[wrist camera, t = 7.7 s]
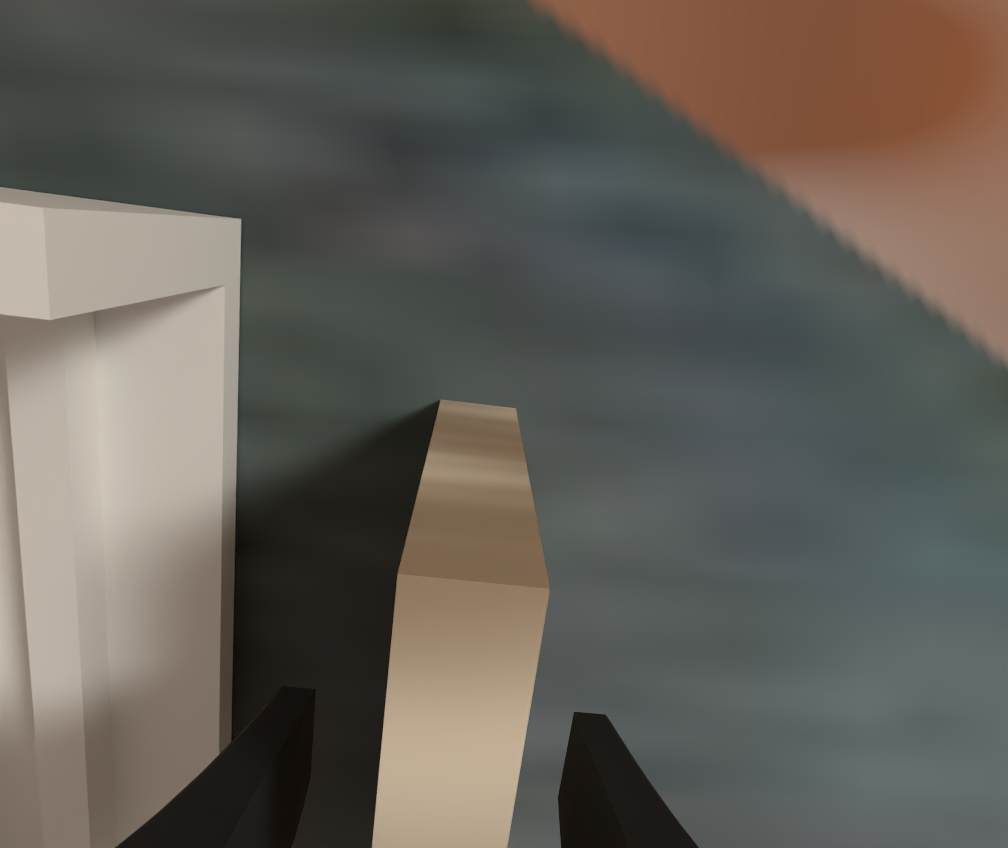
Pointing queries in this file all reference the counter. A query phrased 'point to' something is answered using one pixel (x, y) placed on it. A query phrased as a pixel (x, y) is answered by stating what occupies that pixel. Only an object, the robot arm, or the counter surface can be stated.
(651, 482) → the counter surface
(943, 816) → the counter surface
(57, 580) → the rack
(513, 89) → the counter surface
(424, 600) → the tall sheet
